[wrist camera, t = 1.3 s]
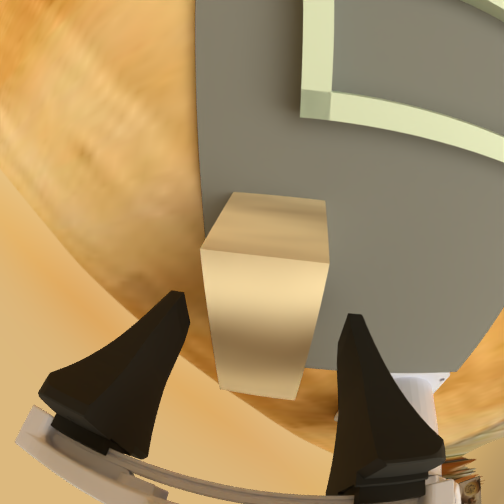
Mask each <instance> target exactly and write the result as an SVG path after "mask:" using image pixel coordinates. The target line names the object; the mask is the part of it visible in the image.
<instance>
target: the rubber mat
mask: <svg viewBox="0 0 504 504" xmlns="http://www.w3.org/2000/svg"><path fill="white" fill-rule="evenodd" d="M302 53H303V0H196V11H195V55H196V99H197V124H198V144H199V162H200V177H201V192H202V205H203V217H204V229H205V239H206V237H207V236H208V234H209V232H210V230H211V229H212V227H213V225H214V224H215V222H216V220H217V219H218V217H219V215H220V214H221V212H222V210H223V208H224V207H225V205H226V203H227V202H228V200H229V198H230V197H231V195H232V194H233V192H243V193H255V194H267V195H278V196H288V197H298V198H307V199H316V200H325V203H326V215H327V228H328V243H329V261H330V264H329V269H328V274H327V279H326V283H325V288H324V292H323V297H322V301H321V306H320V310H319V314H318V318H317V322H316V326H315V330H314V334H313V338H312V342H311V346H310V350H309V353H308V357H307V361H306V364H305V368H315V369H326V370H337V348H338V341H339V338H340V335H341V332H342V329H343V327H344V324H345V321H346V318H347V315H348V313H352V314H362V316H363V317H364V320H365V322H366V325H367V327H368V329H369V332H370V334H371V336H372V338H373V341H374V343H375V345H376V347H377V349H378V351H379V353H380V355H381V357H382V359H383V361H384V363H385V365H386V366H387V368H388V370H389V372H390V373H438V372H457V371H458V369H459V368H460V367H461V366H462V365H463V363H464V362H465V361H466V360H467V358H468V357H469V356H470V355H471V353H472V352H473V351H474V349H475V348H476V347H477V345H478V344H479V343H480V341H481V340H482V339H483V337H484V336H485V334H486V333H487V332H488V330H489V329H490V327H491V326H492V324H493V323H494V321H495V320H496V318H497V317H498V315H499V314H500V312H501V310H502V309H503V307H504V162H501V161H499V160H496V159H493V158H490V157H488V156H485V155H482V154H479V153H476V152H473V151H470V150H467V149H463V148H460V147H457V146H453V145H450V144H446V143H443V142H439V141H435V140H431V139H427V138H423V137H419V136H415V135H411V134H406V133H402V132H397V131H392V130H387V129H382V128H376V127H371V126H365V125H359V124H352V123H346V122H338V121H330V120H322V119H313V118H303V117H300V105H301V82H302ZM331 91H338V92H346V93H352V94H358V95H364V96H370V97H375V98H381V99H386V100H390V101H395V102H399V103H404V104H408V105H412V106H416V107H420V108H424V109H427V110H431V111H434V112H438V113H441V114H445V115H448V116H451V117H454V118H457V119H460V120H463V121H466V122H469V123H472V124H475V125H477V126H480V127H483V128H485V129H488V130H490V131H493V132H495V133H498V134H500V135H502V136H504V22H503V21H501V20H499V19H497V18H495V17H494V16H492V15H490V14H488V13H486V12H484V11H482V10H480V9H478V8H476V7H474V6H472V5H470V4H468V3H465V2H463V1H461V0H334V49H333V72H332V90H331Z"/></svg>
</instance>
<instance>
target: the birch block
mask: <svg viewBox="0 0 504 504" xmlns="http://www.w3.org/2000/svg"><path fill="white" fill-rule="evenodd" d="M200 254H201V263H202V272H203V280H204V288H205V295H206V303H207V310H208V317H209V324H210V331H211V338H212V344H213V351H214V357H215V363H216V369H217V375H218V381H219V387H220V389H223V390H228V391H233V392H239V393H245V394H251V395H257V396H264V397H271V398H279V399H287V400H295V398H296V395H297V392H298V389H299V385H300V382H301V378H302V375H303V371H304V368H305V364H306V361H307V357H308V353H309V350H310V346H311V342H312V338H313V334H314V330H315V326H316V322H317V318H318V314H319V310H320V306H321V301H322V297H323V292H324V288H325V283H326V279H327V274H328V269H329V264H330V261H329V243H328V228H327V215H326V203H325V200H316V199H307V198H298V197H288V196H278V195H267V194H255V193H243V192H233V194H232V195H231V197H230V198H229V200H228V202H227V203H226V205H225V207H224V208H223V210H222V212H221V214H220V215H219V217H218V219H217V220H216V222H215V224H214V225H213V227H212V229H211V230H210V232H209V234H208V236H207V237H206V239H205V241H204V243H203V244H202V246H201V248H200Z"/></svg>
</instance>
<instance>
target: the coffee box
mask: <svg viewBox="0 0 504 504" xmlns="http://www.w3.org/2000/svg"><path fill="white" fill-rule="evenodd" d="M459 488H460V494H461V504H481V486H480V476H478V477H475V478H473V479H470V480H467V481H464V482H462V483H459Z"/></svg>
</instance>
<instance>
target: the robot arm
mask: <svg viewBox="0 0 504 504" xmlns="http://www.w3.org/2000/svg"><path fill="white" fill-rule="evenodd" d="M189 325H190V319H189V315H188V310H187V305H186V300H185V295H184V292H178V291H170V292H169V293H168V294H167V295H166V296H165V297H164V298H163V299H162V300H161V301H160V302H159V303H157V304H156V305H155V306H154V307H153V308H152V309H151V310H150V311H149V312H148V313H147V314H146V315H144V316H143V317H142V318H141V319H140V320H139V321H138V322H137V323H135V324H134V325H133V326H132V327H131V328H129V329H128V330H127V331H126V332H125V333H123V334H122V335H121V336H119V337H118V338H117V339H115V340H114V341H112V342H111V343H110V344H108V345H107V346H105V347H103V348H102V349H100V350H99V351H97V352H95V353H93V354H92V355H90V356H88V357H86V358H84V359H82V360H80V361H79V362H76V363H74V364H72V365H69V366H67V367H64V368H62V369H60V370H57V371H54V372H51V373H50V374H49V375H48V377H47V379H46V380H45V382H44V383H43V385H42V387H41V389H40V390H39V392H38V394H39V397H40V398H41V399H42V400H43V401H44V402H45V403H46V404H47V405H48V406H49V407H50V408H51V409H52V410H53V411H55V412H56V415H55V417H53V416H51V415H50V414H48V413H47V412H45V411H44V410H42V409H41V408H39V407H37V406H36V405H33V407H32V409H31V411H30V413H29V415H28V416H27V418H26V420H25V422H24V424H23V426H22V428H21V430H20V432H19V434H18V436H17V438H16V441H15V443H16V444H17V445H19V446H20V447H21V448H22V449H23V450H25V451H26V452H27V453H29V454H30V455H31V456H33V457H34V458H35V459H37V460H38V461H39V462H40V463H42V464H43V465H44V466H46V467H47V468H48V469H50V470H51V471H53V472H54V473H56V474H57V475H58V476H60V477H61V478H63V479H64V480H66V481H67V482H69V483H70V484H72V485H73V486H75V487H76V488H78V489H80V490H81V491H83V492H85V493H86V494H88V495H90V496H91V497H93V498H95V499H97V500H98V501H100V502H102V503H104V504H177V503H174V502H171V501H167V496H168V491H166V490H163V489H161V488H159V487H157V486H155V485H154V484H151V483H148V482H146V481H143V480H141V479H139V478H136V477H135V476H134V474H133V473H135V474H137V475H140V476H143V477H145V478H148V479H151V480H153V481H157V482H159V483H162V484H165V485H168V486H171V487H175V488H178V489H182V490H185V491H188V492H192V493H196V494H200V495H204V496H208V497H212V498H217V499H222V500H226V501H232V502H237V503H243V504H461V494H460V488H459V485H458V483H456V482H454V480H453V479H447V480H446V479H445V478H443V477H441V464H443V463H444V461H445V460H446V456H445V446H444V441H443V439H442V438H441V437H440V436H439V435H438V426H437V418H436V411H435V404H434V398H433V394H434V392H435V391H436V390H437V389H438V388H439V387H440V386H441V385H442V384H443V382H444V381H445V380H446V379H447V378H448V377H449V375H450V372H438V373H390V372H389V370H388V368H387V366H386V365H385V363H384V361H383V359H382V357H381V355H380V353H379V351H378V349H377V347H376V345H375V343H374V341H373V338H372V336H371V334H370V332H369V329H368V327H367V325H366V322H365V320H364V317H363V316H362V314H352V313H348V315H347V318H346V321H345V324H344V327H343V329H342V332H341V335H340V338H339V341H338V348H337V382H338V412H337V413H336V415H335V417H334V420H335V421H336V422H338V423H337V433H336V441H335V448H334V455H333V461H332V467H331V472H330V477H329V481H328V485H327V490H326V496H314V495H295V494H282V493H273V492H265V491H257V490H251V489H244V488H238V487H233V486H227V485H222V484H218V483H214V482H209V481H205V480H201V479H197V478H193V477H189V476H185V475H182V474H179V473H175V472H172V471H169V470H166V469H163V468H160V467H157V466H154V465H151V464H148V463H145V462H142V461H140V460H137V459H135V458H132V457H129V456H133V457H136V458H138V459H144V458H146V457H148V452H149V447H150V441H151V436H152V431H153V427H154V423H155V419H156V415H157V411H158V407H159V404H160V400H161V397H162V394H163V390H164V387H165V385H166V382H167V380H168V377H169V375H170V373H171V370H172V368H173V366H174V364H175V362H176V360H177V357H178V355H179V353H180V351H181V348H182V346H183V344H184V341H185V338H186V335H187V332H188V328H189ZM124 454H127V455H129V456H127V455H124Z"/></svg>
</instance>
